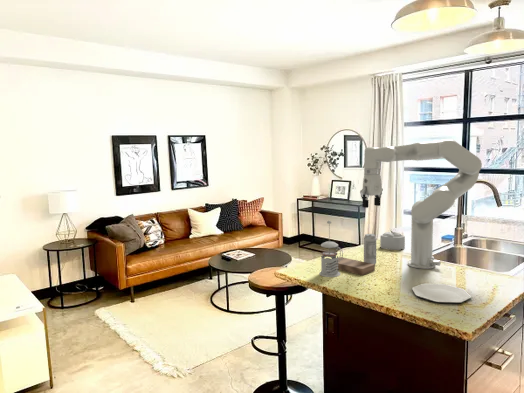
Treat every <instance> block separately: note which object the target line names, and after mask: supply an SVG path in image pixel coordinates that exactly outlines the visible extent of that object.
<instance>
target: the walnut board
mask: <svg viewBox="0 0 524 393" xmlns="http://www.w3.org/2000/svg"><path fill="white" fill-rule="evenodd" d="M339 257H340V259H339ZM341 258H342V260H341ZM338 259H339V260H338V262H339V261H340V260H341V261H340V262H339V263H338V271H343V272H347V273H352V274H356V275H360V276H364V275H367V274H369V273H372V272H374V271H375V269H376V264H371V263H366V262H364V261H360V260H358V259H357V260H356V259H352V258H348V257H342V256H338ZM336 261H337V260H336ZM329 264H332V263H329ZM336 265H337V263H336ZM331 267H332V266H331ZM336 267H337V266H336Z"/></svg>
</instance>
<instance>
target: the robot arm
mask: <svg viewBox="0 0 524 393" xmlns="http://www.w3.org/2000/svg"><path fill="white" fill-rule="evenodd" d="M363 155H364V158H363V160H364V162H363V163H364V165H363V170H364V171H363V180H362V189H361V190H360V191H359V193H360V197H361V200H362V203H361V204H362V205H361V206H362V208H366V209H369V207H370V206H369V201H370V200H369V198H370V196H371V197H372V196H374V198H373V199H374V200H373V205H374V206H376V207H379V206H381V198H382V194H383V190H384V189H383V188H382V177H381V176H382V175H381V162H384V163H391V162H400V161H401V162H402V161H417V162H418V161H429V160H431V161H432V160H442V159H444V160H446V161H447V162H449V163H450V164H451V165H453V166H454V167H455V168H457V169H458V172H457V174H456V175H455V176H454V177H452V178H451V179H450V180H448V181H447V182H445V183H444V184H443V185H441V186H440V187H438V188H436V189H435V190H433V191H432V193H431V194H430V195H429V196H428V197H426V198H424V199H423V200H418V201H415V202H414V204H412V207H411V212H410V214H411V228H410V230H411V234H410V236H411V238H410V239H411V240H410V241H411V242H410V260H408V261H407V265H408V266H409V267H411V268H415V269H422V270H424V269H425V270H429V269H434V268H436V266H439V267H440V266H441V260H437V259H436V258H435V256H433V248H434V247H433V242H434V241H433V240H434V238H433V237H434V236H433V234H434V220H435V219H436V218H438V217H440V215H441V216H442V214H444V213H445V212H447V211H448V210H450V209H452V207H453V206H454V204H455V201H456V200H457V199H459V198H461V197H462V196H463V195H464V194H466V193H467V192H468V191H470V190H471V189H472V188H473V187H474V186H475V185H476V183H477V181H478V180H479V176H480V171H481V169H482V166H483V165H482V164H483V163H482V160H481V159H480V157H478V156H477V155H476V154H474V153H472V152H471V151H470V150H468V149H467V148H465V147H464V146H463V145H461V144H460V143H459V142H457V141H456V140H454V139H441V140H440V139H439V140H433V141H432V140H431V141H422V142H414V143H411V144H406V145H394V146H384V147H375V146H373V147H372V146H371V147H370V146H369V147H365V149H364V154H363Z"/></svg>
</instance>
